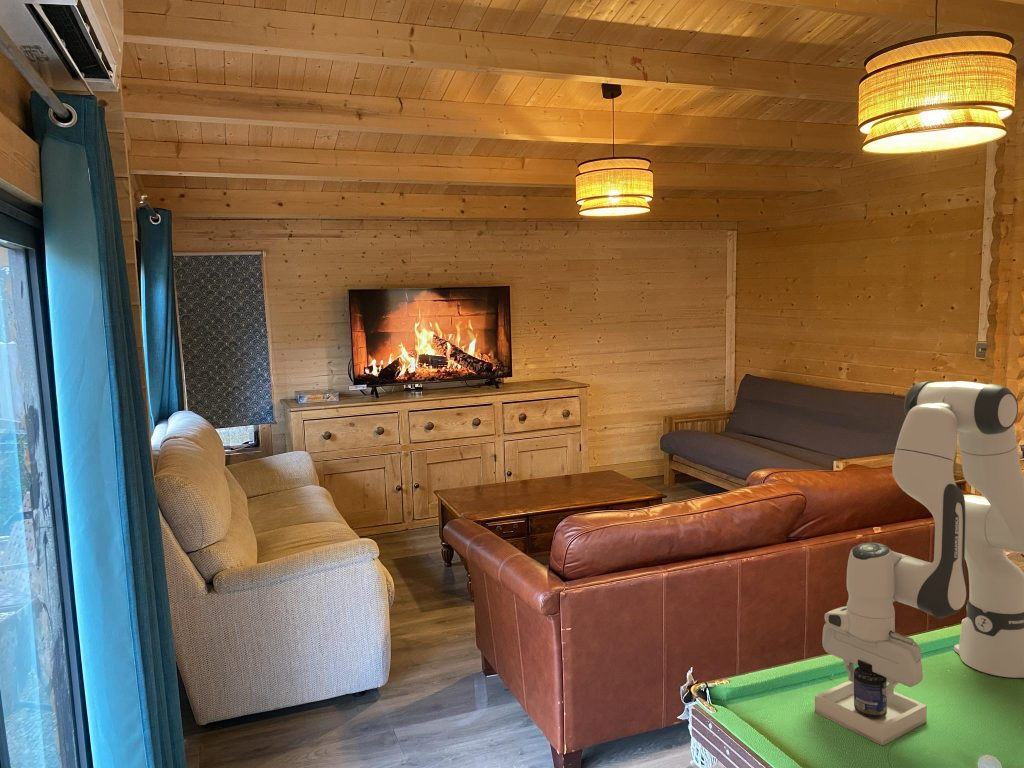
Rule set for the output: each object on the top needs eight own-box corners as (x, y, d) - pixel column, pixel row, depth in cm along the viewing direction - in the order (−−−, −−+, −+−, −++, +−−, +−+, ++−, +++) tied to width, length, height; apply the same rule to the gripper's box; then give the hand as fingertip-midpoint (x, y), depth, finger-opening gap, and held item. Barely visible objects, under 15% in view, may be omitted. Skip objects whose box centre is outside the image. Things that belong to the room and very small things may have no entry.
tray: (859, 691, 162) (859, 676, 161) (926, 722, 149) (926, 705, 149) (814, 711, 154) (814, 695, 154) (882, 745, 141) (882, 728, 141)
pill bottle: (890, 720, 148) (890, 667, 147) (858, 718, 149) (857, 666, 148) (881, 704, 154) (881, 653, 153) (850, 702, 155) (850, 652, 154)
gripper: (930, 637, 143) (929, 705, 144) (836, 604, 160) (836, 665, 161) (911, 646, 139) (910, 715, 141) (817, 611, 157) (817, 673, 158)
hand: (870, 688), depth 151 cm, fingers closed on pill bottle, 6 cm apart
